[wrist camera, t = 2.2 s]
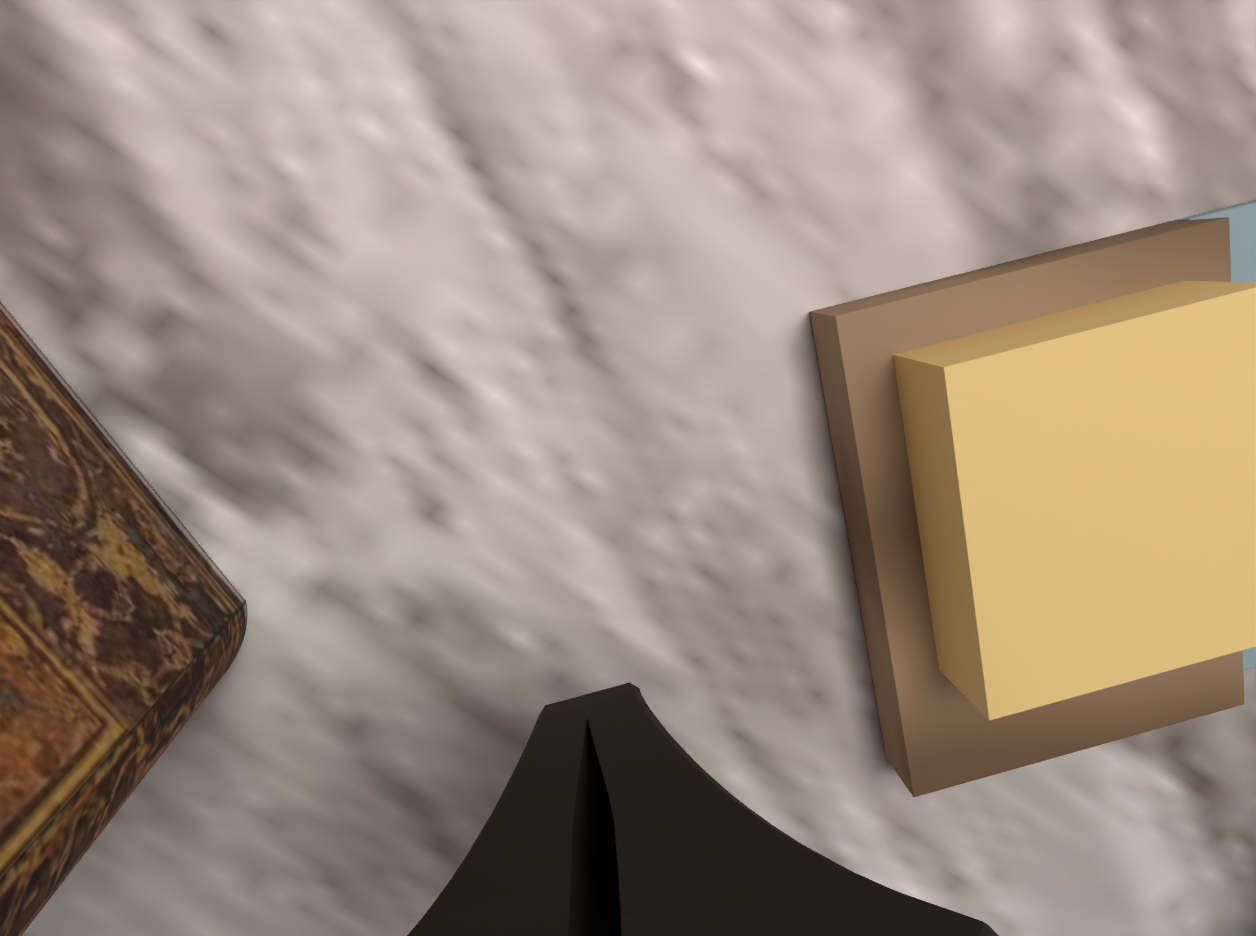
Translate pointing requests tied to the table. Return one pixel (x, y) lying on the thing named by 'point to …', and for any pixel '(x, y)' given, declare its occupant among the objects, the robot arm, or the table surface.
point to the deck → (887, 522)
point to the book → (87, 628)
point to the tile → (1087, 492)
